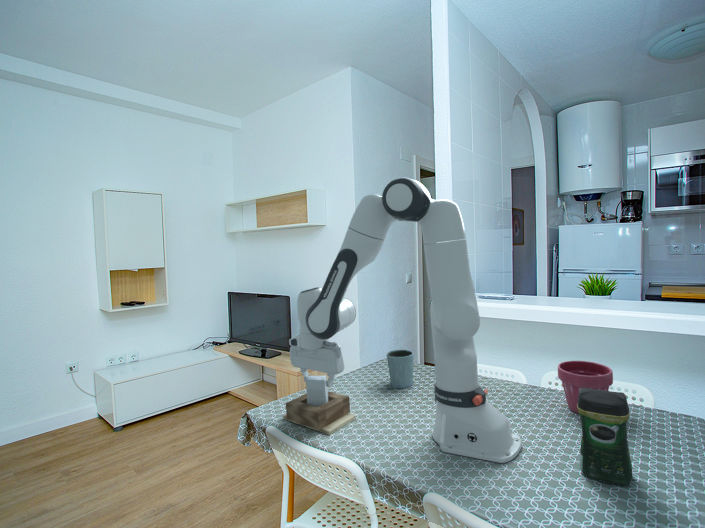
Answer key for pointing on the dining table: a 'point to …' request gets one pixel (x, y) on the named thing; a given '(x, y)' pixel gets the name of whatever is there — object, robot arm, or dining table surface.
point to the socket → (320, 413)
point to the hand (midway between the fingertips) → (318, 383)
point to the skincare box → (316, 390)
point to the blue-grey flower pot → (400, 368)
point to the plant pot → (583, 379)
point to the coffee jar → (604, 436)
